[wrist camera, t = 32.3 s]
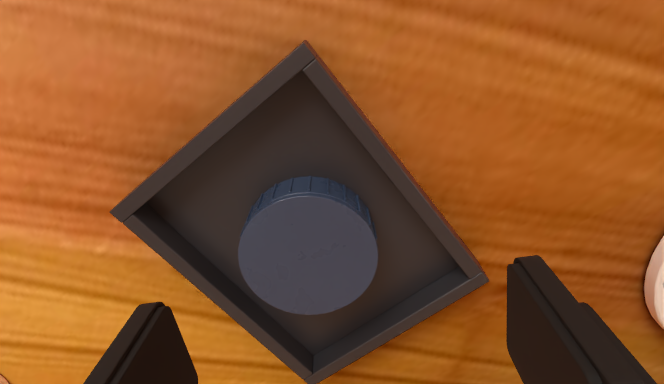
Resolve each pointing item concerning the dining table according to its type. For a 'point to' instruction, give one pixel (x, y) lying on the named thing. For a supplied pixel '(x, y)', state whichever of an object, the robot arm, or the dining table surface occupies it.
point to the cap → (308, 246)
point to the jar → (3, 380)
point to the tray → (296, 161)
